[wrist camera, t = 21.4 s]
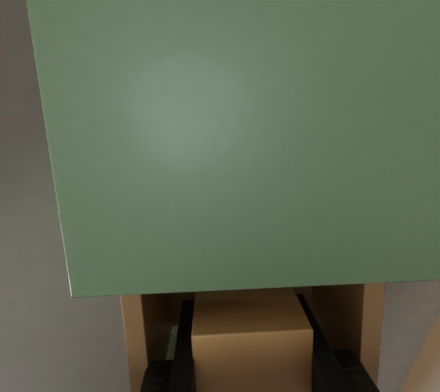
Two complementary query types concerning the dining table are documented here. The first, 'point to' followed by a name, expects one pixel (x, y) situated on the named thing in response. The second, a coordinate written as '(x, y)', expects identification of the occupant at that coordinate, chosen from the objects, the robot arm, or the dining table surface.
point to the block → (251, 341)
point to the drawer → (314, 295)
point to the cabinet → (241, 141)
